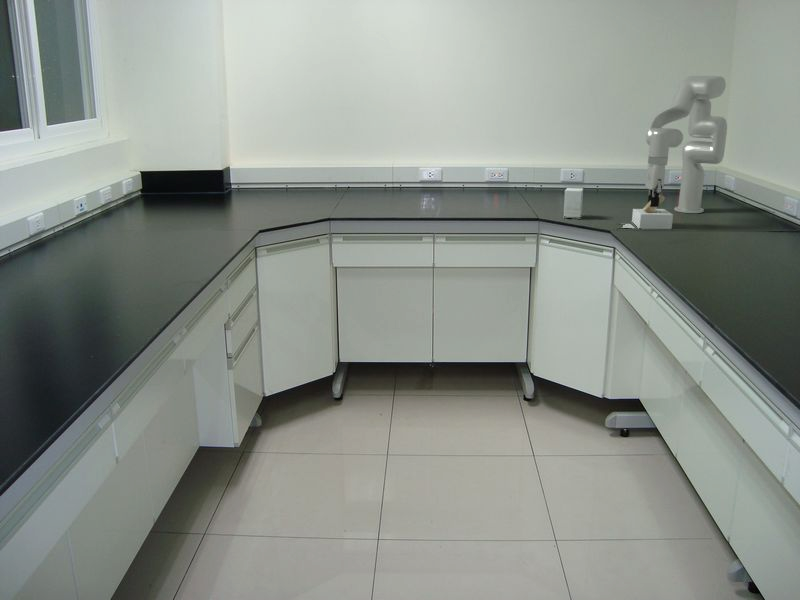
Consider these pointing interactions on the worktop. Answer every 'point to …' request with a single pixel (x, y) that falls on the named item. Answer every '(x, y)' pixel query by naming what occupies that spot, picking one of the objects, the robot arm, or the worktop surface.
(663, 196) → the tan wooden block
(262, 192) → the worktop surface
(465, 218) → the worktop surface
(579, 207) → the supplement box
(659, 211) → the box
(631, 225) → the pad
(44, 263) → the worktop surface
